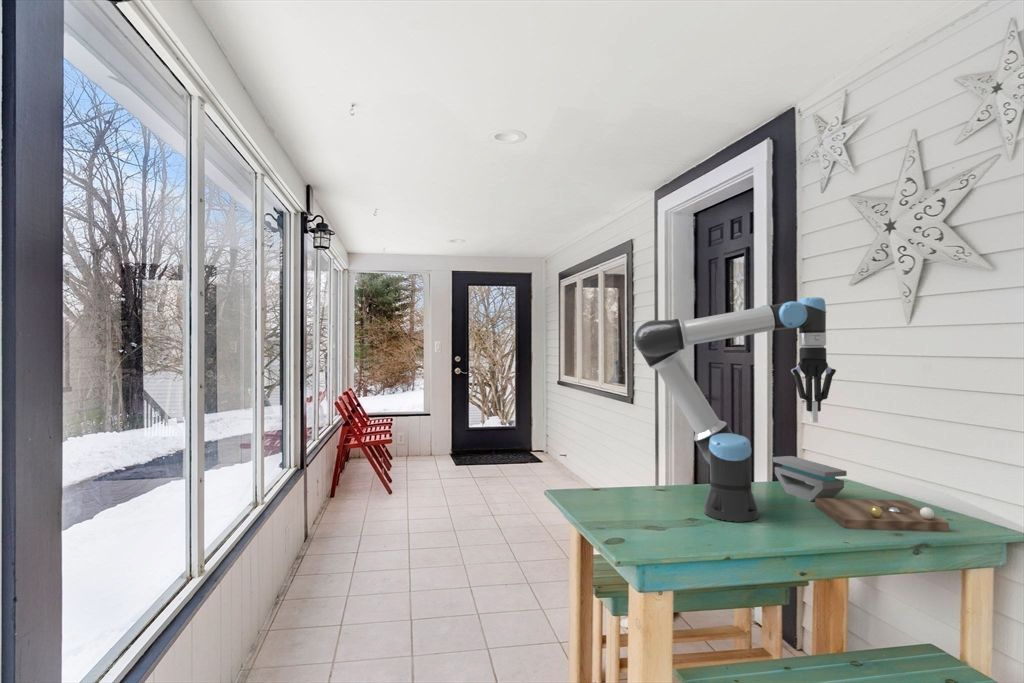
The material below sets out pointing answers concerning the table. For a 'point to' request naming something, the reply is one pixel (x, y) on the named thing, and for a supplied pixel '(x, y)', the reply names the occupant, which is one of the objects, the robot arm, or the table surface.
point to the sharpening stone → (808, 478)
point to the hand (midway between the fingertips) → (813, 421)
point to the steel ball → (893, 509)
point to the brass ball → (875, 511)
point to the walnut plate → (858, 517)
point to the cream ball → (927, 513)
